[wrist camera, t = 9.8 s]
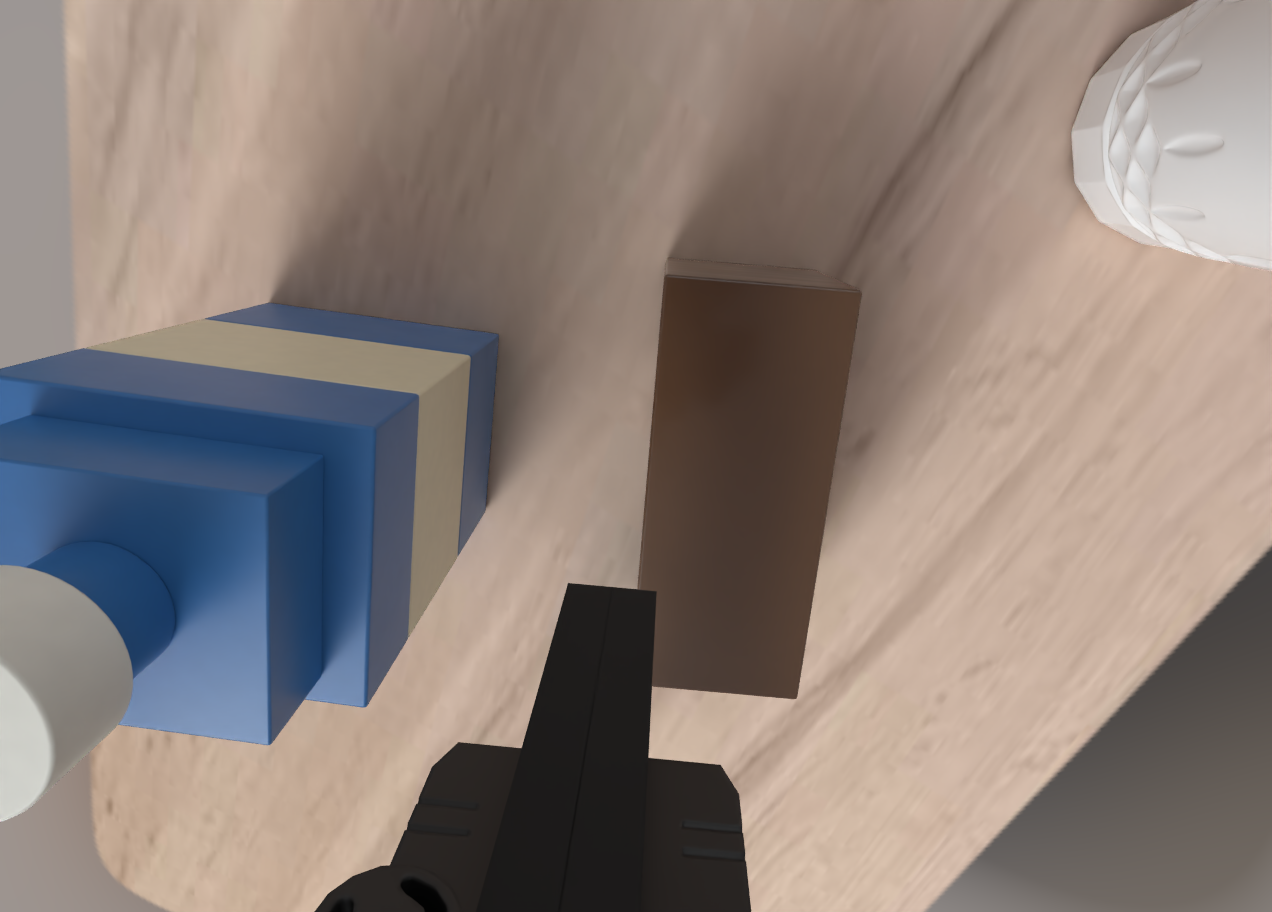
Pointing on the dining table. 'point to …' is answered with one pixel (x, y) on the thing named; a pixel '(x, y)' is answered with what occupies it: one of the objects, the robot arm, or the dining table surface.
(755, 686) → the block
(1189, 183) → the white cup
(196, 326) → the bottle
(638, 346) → the dining table surface
